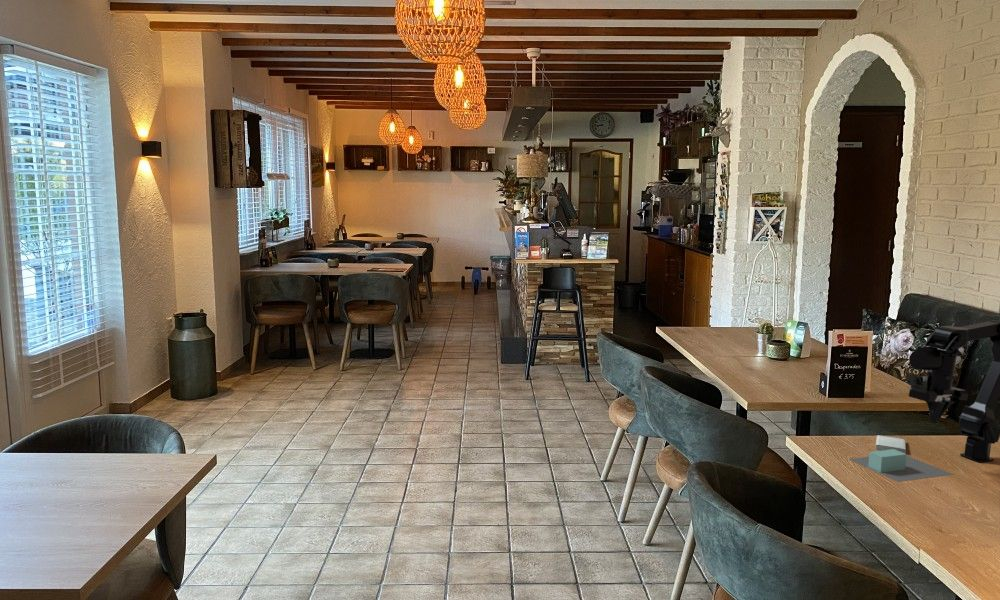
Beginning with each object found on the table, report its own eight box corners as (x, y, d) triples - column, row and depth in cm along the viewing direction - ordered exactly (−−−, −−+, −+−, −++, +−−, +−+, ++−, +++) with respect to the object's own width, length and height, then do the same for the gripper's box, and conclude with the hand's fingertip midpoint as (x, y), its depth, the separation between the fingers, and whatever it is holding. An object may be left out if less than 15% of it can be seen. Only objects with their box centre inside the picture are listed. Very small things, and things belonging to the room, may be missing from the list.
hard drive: (905, 449, 228) (905, 438, 239) (875, 444, 231) (876, 434, 242) (905, 454, 228) (904, 443, 239) (875, 449, 232) (876, 439, 243)
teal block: (894, 449, 219) (869, 451, 216) (906, 454, 215) (881, 457, 212) (892, 463, 219) (868, 466, 217) (905, 469, 215) (880, 472, 212)
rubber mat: (900, 454, 229) (901, 452, 229) (952, 475, 212) (953, 474, 212) (848, 460, 223) (848, 459, 223) (897, 482, 206) (897, 481, 206)
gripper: (936, 363, 229) (928, 413, 230) (896, 364, 220) (887, 415, 222) (973, 372, 219) (964, 424, 221) (931, 373, 210) (922, 427, 212)
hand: (933, 422), depth 219 cm, fingers closed
